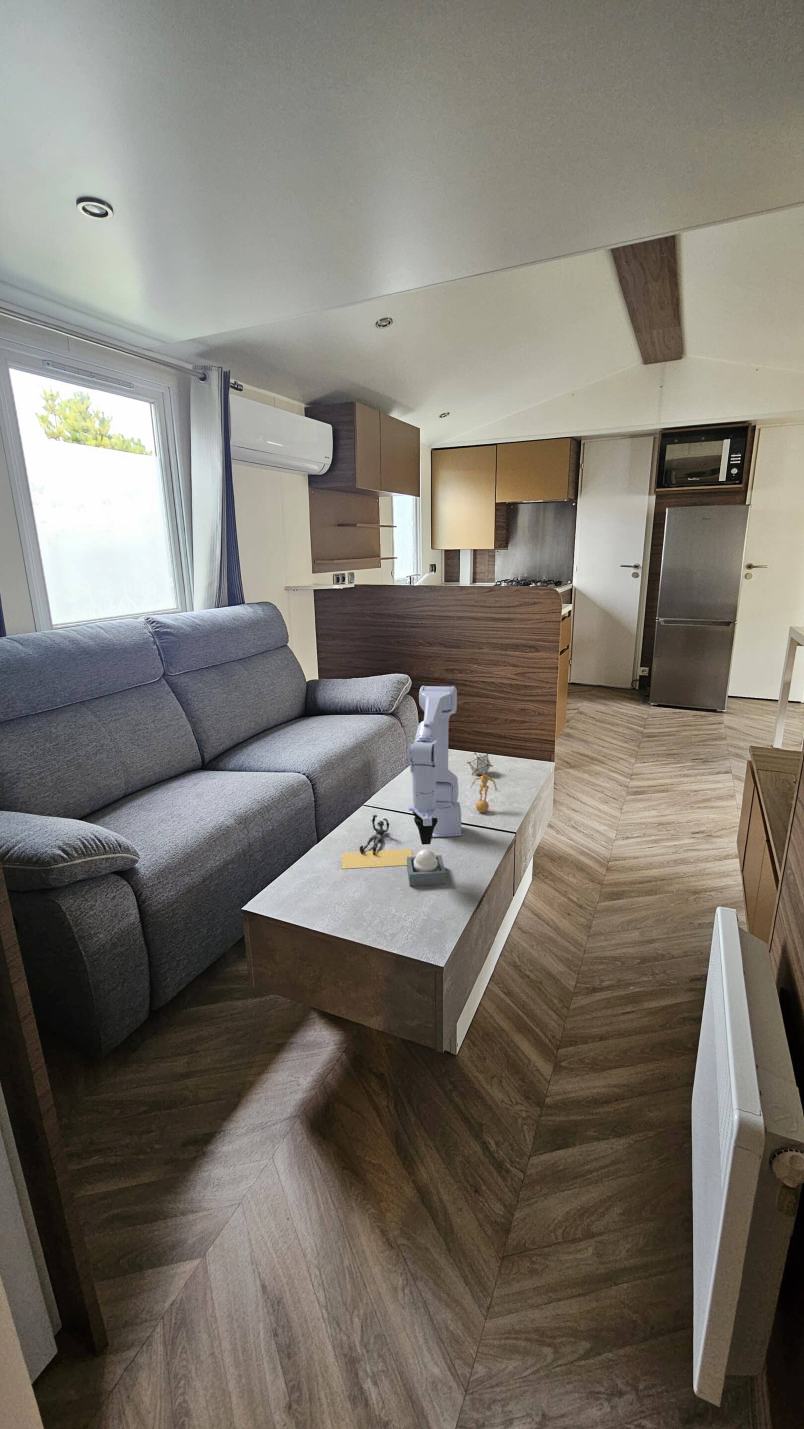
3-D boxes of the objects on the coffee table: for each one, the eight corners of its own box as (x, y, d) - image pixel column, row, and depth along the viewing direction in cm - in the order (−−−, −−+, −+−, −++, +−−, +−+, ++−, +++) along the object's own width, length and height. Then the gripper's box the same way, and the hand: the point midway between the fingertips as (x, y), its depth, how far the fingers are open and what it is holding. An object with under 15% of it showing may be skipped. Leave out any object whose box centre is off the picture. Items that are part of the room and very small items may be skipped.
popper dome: (436, 862, 159) (435, 844, 157) (439, 874, 153) (438, 855, 152) (413, 863, 158) (412, 845, 157) (415, 875, 153) (414, 856, 151)
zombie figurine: (358, 830, 167) (374, 810, 181) (359, 854, 169) (375, 831, 183) (376, 832, 166) (392, 811, 180) (378, 855, 167) (393, 832, 181)
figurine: (467, 812, 193) (467, 776, 190) (473, 805, 198) (473, 770, 195) (493, 816, 190) (493, 779, 187) (498, 808, 195) (499, 773, 192)
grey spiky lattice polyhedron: (475, 783, 227) (464, 758, 230) (496, 774, 227) (485, 749, 230) (474, 779, 219) (463, 754, 221) (496, 770, 218) (485, 744, 221)
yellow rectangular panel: (411, 849, 171) (411, 848, 171) (414, 865, 162) (414, 864, 162) (342, 852, 170) (342, 852, 170) (341, 869, 161) (341, 868, 161)
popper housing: (441, 866, 161) (441, 855, 160) (445, 884, 152) (445, 872, 151) (407, 868, 160) (406, 857, 160) (409, 886, 152) (409, 874, 151)
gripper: (405, 779, 157) (407, 828, 160) (410, 801, 143) (411, 855, 146) (433, 778, 157) (434, 827, 161) (440, 800, 143) (441, 853, 147)
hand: (425, 840), depth 154 cm, fingers open, 3 cm apart
